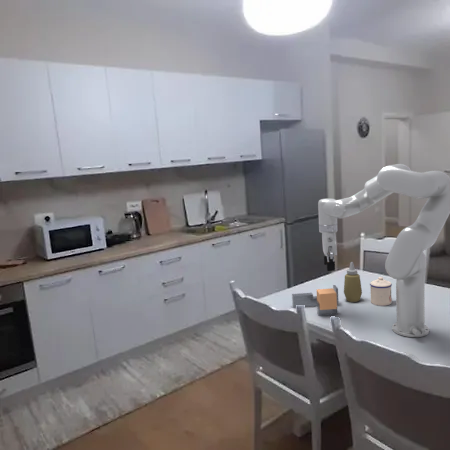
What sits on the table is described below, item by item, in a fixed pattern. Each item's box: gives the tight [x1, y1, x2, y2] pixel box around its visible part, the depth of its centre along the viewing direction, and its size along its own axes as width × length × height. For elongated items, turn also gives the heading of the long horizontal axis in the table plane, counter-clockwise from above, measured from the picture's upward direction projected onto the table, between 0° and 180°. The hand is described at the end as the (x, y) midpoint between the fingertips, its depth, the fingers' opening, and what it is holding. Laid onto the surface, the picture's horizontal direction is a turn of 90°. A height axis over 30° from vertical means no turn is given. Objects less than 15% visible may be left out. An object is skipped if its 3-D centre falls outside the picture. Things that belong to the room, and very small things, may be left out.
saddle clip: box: [315, 287, 338, 310], centre depth 176 cm, size 6×7×7 cm
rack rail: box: [291, 284, 340, 309], centre depth 189 cm, size 10×20×8 cm, turn 89°
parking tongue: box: [316, 301, 338, 316], centre depth 176 cm, size 3×8×6 cm, turn 89°
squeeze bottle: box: [343, 261, 363, 303], centre depth 189 cm, size 8×8×18 cm
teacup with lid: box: [369, 276, 393, 307], centre depth 185 cm, size 12×9×12 cm
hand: (329, 267), depth 176 cm, fingers open, 9 cm apart
